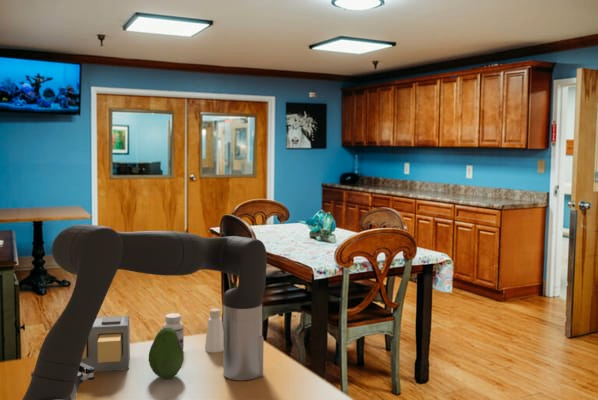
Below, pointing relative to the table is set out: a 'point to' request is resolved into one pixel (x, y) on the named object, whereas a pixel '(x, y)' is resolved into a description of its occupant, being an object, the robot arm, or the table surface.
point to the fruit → (166, 354)
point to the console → (102, 327)
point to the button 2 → (109, 347)
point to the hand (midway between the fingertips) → (69, 360)
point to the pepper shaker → (214, 332)
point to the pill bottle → (175, 325)
